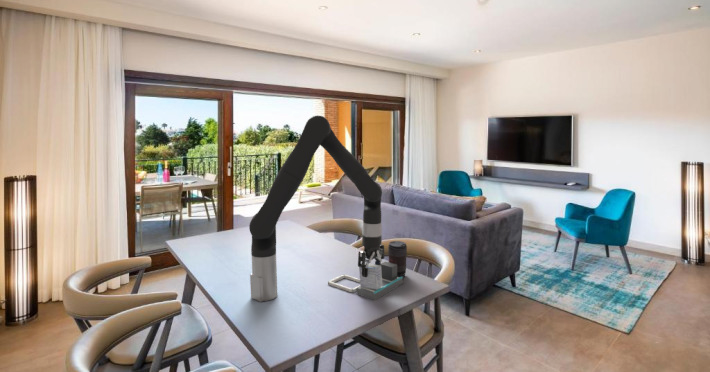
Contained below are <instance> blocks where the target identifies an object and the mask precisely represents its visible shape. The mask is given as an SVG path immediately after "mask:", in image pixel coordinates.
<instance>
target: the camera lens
mask: <svg viewBox="0 0 710 372" xmlns="http://www.w3.org/2000/svg"><path fill="white" fill-rule="evenodd" d="M407 248H408V246H407V242H405V241H401V240H393V241H390V242H389V243H388V249H387V251H388V262H389V263H393V264H397V277H401V276H402V277H403V278H404V277H405V275H406V273H407V272H406V271H407V253H408V252H407V250H408V249H407Z"/></svg>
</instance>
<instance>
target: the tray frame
mask: <svg viewBox="0 0 710 372" xmlns="http://www.w3.org/2000/svg"><path fill="white" fill-rule="evenodd" d="M342 279H348V280H350V281H354V282H357V283H359V284H358V286H355V287H353V288H351V287H349V286H345V285H342V284H340V283H337V282H338V281H340V280H342ZM327 285H329V286H332V287H333V288H338V289H339V290H343V291H346V292H349V293H352V294H354V293H355V292H357V287H359V286H360V278H357V277H355V276H351V275H348V274H342V275H339V276H337V277H334V278H332V279H330V280H328V281H327Z"/></svg>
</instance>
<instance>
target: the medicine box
mask: <svg viewBox="0 0 710 372" xmlns="http://www.w3.org/2000/svg"><path fill="white" fill-rule="evenodd" d="M365 265H366V262H365ZM367 268H368V277H363V276H362V267H359V268H358V269H359V279H360V283H359V285H360V286H361V287H365V288H371V289H376V290H378V289H379V288H380V287H382V270H381V265H375V263H369V265H368V267H367Z"/></svg>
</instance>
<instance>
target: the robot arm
mask: <svg viewBox="0 0 710 372" xmlns="http://www.w3.org/2000/svg"><path fill="white" fill-rule="evenodd" d="M320 146H321V148H323V149H324V150H325V151H326V152H327V153H328V154H329V155H330V156H331V158H332V159H333V160H334V162H335V163H336V164H337V166H338V167H339V168H340V170H341V172H343V173H344V174H345V176H346V177H347V178H348V179H349V180H350V182H352V183H353V184H354V186H355V187H356V188H357V190H358V191H359V192H360V194H361V195H362V197H363V212H362V215H363V216H362V230H361V231H362V233H361V234H362V236H361V238H362V239H361V241H362V242H361V244H362V245H361V246H363V248H364V249H363V251H358V255H357V257H358V258H357V267H362V276H363V277H368V268H367V267H368V265H369V264H372V263H371V262H372V261H373V260H375V261H374V264H375V265H381V263H382V260H384V259H385V244H382V239H383V238H382V236H383V231H382V230H383V228H382V208H381V207H382V206H381V205H382V195H383V189H382V187H381V185H380V184H379V183H378V182H376V181H375V180H374V179H373V178H372V177H371V176H370V174H369V173H368V171H367V170H366V168H365V167H364V166H363V165H362V163H360V161H359V160H358V159H357V158H356V156H354V155H353V153H352V152H351V151H350V150H348V149H347V148H346V147H345V146H344V145H343V143H342V142H341V141H340V140H339V139H338V137H337V136H336V134H335V133H334V131H333V129H332V127H331V124H330V122H329V120H328V119H327V118H326V117H325V116H323V115H313V116H311V117H309V119H307V121H306V123H305V125H304V127H303V130H302V133H301V135H300V137H299V139H298V141H297V143H296V145H295V146H294V148H293V149H292V151H291V152H290V154H289V155H288V156H287V158H286V160H285V161H284V163H283V165H282V166H281V167H280V169H279V170H278V172H277V175H276V176H275V178H274V180H273V183H272V185H271V187H270V189H269V192H268V195H267V197H266V199H265V201H264V203H263V204H262V206H261V207H260V209H259V210H258V211H257V213H255V214H254V215H253V217H252V218H251V220H250V222H249V226H248V227H249V228H248V229H249V232H250V235H251V246H250V247H251V251H250V252H251V253H250V255H251V273H250V274H249V282H250V298H251V299H253V300H255V301H258V302H259V303H262V302H267V301H272V300H274V299H276V298H277V297H278V274H277V273H278V268H277V267H278V265H277V224H278V221H279V219H280V218H281V215H282V213H283V211H284V209H285V208H286V206H287V205H288V204H289V203H290V201H291V200H292V199H293V197H294V195H295V194H296V192H297V191H298V190H299V188H300V186H301V184H302V182H303V180H304V179H305V177H306V175H307V172H308V170H309V167H310V165H311V162H312V160H313V158H314V155H315V154H316V152H317V150H319V148H320ZM365 263H366V265H365Z"/></svg>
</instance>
